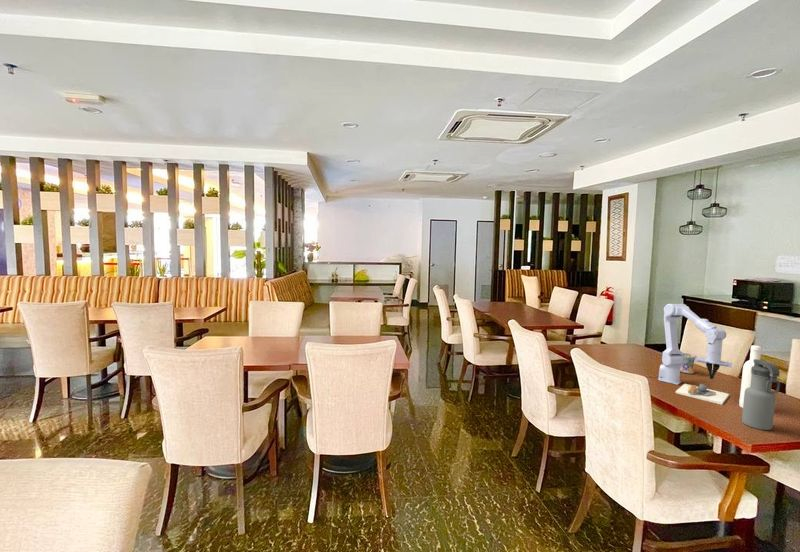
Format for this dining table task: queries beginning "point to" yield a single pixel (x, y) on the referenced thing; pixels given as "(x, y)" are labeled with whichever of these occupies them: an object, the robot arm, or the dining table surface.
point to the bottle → (748, 371)
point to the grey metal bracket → (695, 391)
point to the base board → (714, 398)
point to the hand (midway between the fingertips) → (711, 378)
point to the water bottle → (760, 396)
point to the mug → (688, 363)
